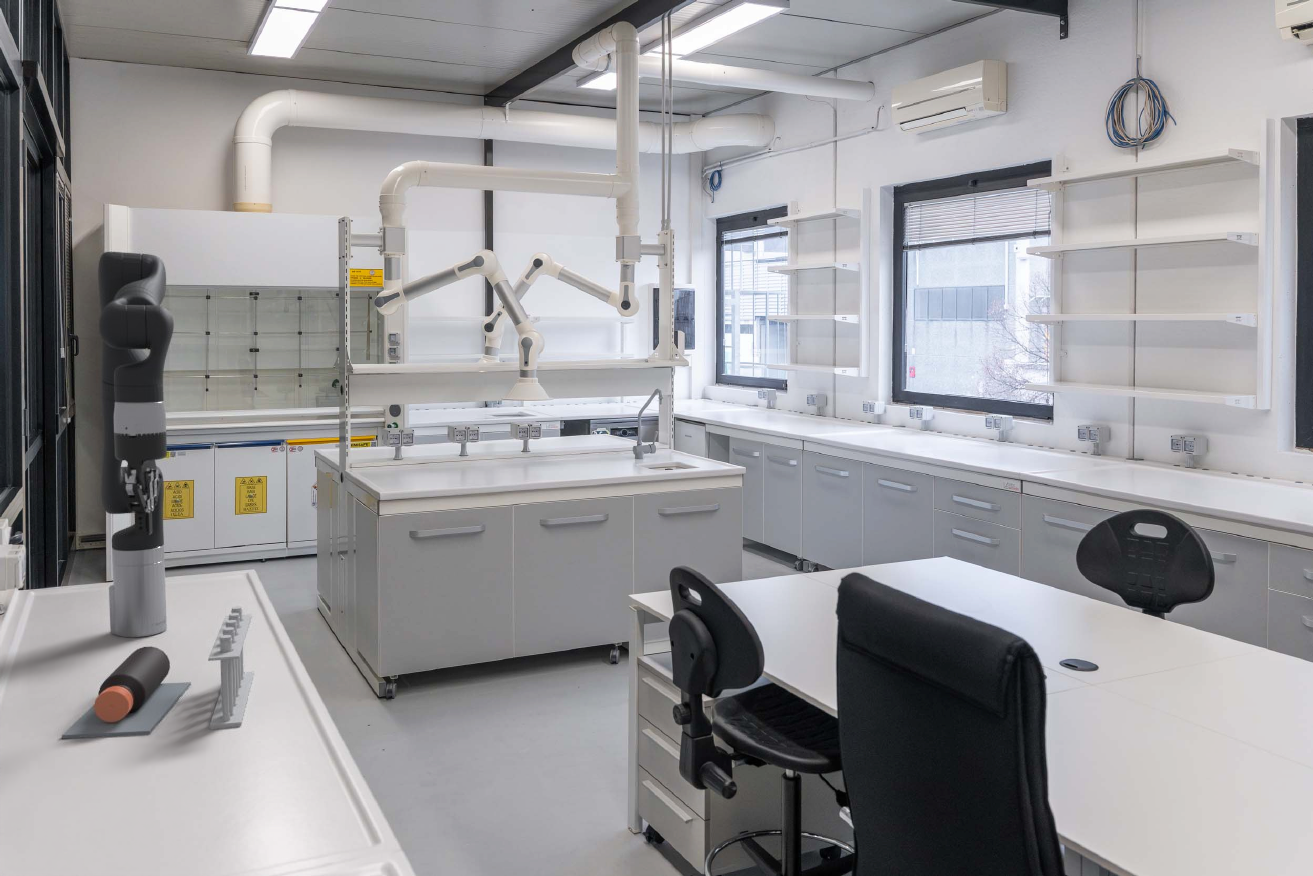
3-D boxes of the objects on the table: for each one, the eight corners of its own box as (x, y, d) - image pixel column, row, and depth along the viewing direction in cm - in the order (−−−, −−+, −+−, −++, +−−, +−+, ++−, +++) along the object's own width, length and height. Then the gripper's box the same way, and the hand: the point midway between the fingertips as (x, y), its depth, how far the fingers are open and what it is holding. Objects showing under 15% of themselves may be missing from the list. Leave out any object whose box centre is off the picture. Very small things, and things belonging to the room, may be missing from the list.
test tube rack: (241, 727, 154) (239, 642, 153) (209, 730, 152) (207, 644, 151) (254, 675, 177) (252, 601, 176) (226, 677, 176) (224, 603, 175)
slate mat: (114, 688, 170) (114, 685, 170) (190, 685, 172) (190, 682, 172) (61, 738, 148) (61, 735, 148) (149, 734, 150) (149, 730, 150)
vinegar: (123, 650, 170) (82, 690, 151) (166, 642, 172) (130, 680, 152) (131, 688, 171) (91, 733, 152) (174, 680, 173) (140, 723, 153)
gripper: (129, 425, 170) (133, 527, 172) (100, 433, 157) (104, 544, 159) (177, 425, 171) (180, 527, 173) (152, 433, 158) (155, 543, 160)
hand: (143, 535), depth 166 cm, fingers closed
